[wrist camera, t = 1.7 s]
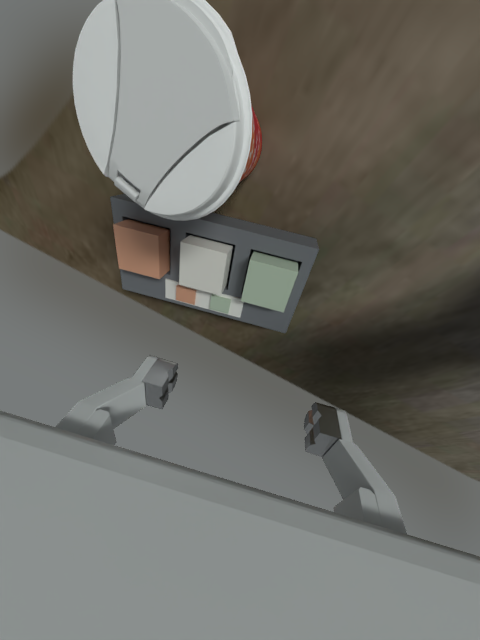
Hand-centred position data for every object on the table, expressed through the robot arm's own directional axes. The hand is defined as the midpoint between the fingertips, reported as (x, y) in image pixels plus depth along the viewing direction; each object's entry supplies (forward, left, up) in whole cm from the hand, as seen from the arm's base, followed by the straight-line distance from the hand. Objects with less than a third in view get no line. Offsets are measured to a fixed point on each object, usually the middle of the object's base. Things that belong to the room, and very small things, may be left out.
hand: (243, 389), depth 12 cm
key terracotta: (+13, 0, -14) cm, 19 cm away
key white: (+6, 0, -14) cm, 16 cm away
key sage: (0, 0, -14) cm, 14 cm away
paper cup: (+6, -10, -18) cm, 21 cm away
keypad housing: (+6, +1, -17) cm, 19 cm away
